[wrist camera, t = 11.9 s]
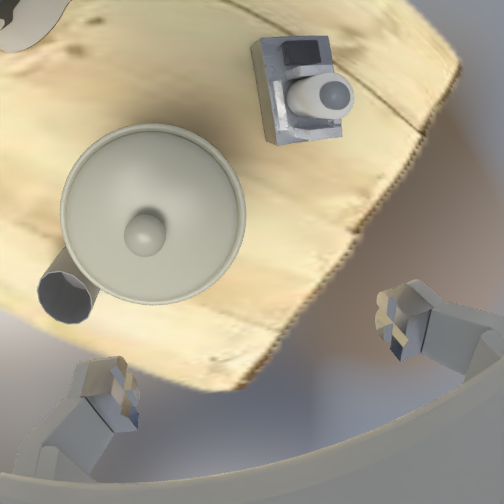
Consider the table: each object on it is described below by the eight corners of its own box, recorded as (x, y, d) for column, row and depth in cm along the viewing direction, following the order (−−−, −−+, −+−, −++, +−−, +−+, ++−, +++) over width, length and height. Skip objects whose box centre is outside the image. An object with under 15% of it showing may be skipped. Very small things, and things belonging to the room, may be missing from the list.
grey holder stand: (250, 47, 37) (270, 28, 27) (311, 43, 38) (345, 27, 28) (265, 141, 43) (289, 150, 33) (324, 133, 44) (361, 140, 34)
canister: (140, 97, 37) (98, 83, 18) (250, 162, 44) (299, 202, 25) (82, 209, 41) (20, 279, 23) (185, 263, 48) (189, 358, 29)
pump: (283, 80, 34) (310, 72, 26) (320, 78, 35) (355, 71, 27) (289, 119, 36) (317, 121, 28) (326, 115, 37) (361, 117, 29)
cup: (100, 237, 44) (82, 268, 35) (112, 284, 47) (100, 321, 38) (53, 244, 42) (29, 275, 33) (67, 290, 46) (49, 325, 37)
